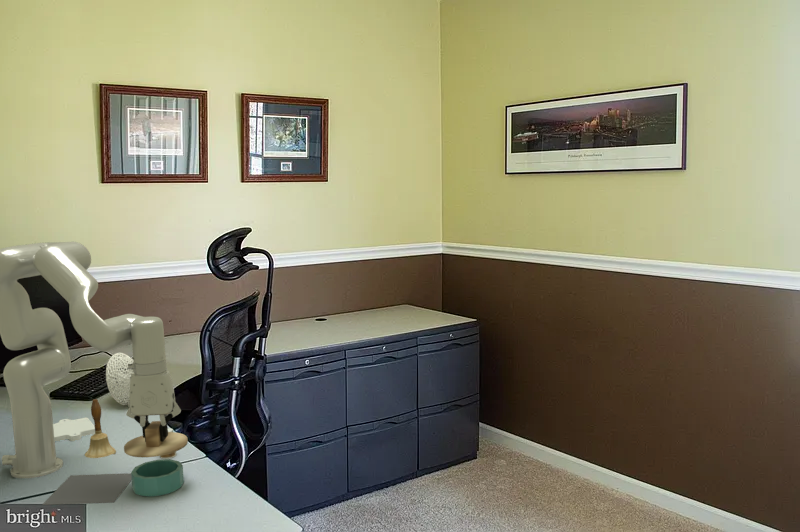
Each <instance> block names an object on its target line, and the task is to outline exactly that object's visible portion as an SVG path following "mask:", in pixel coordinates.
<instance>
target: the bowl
mask: <svg viewBox="0 0 800 532" xmlns="http://www.w3.org/2000/svg"><path fill="white" fill-rule="evenodd" d="M130 473H131V477H132V480H131V488H132V491H133V492H134V494H135V495H139V496H142V497H159V496H163V495H164V496H165V495H168V494H171V493H174V492H176V491H177V490H179V489H180V488H182V487H183V484H184V482H185V481H184V479H185V477H184V465H183V464H182V463H181V461H180V460H175V459H172V458H169V459H162V458H161V459H155V460H149V461H145V462H143V463H140V464H138V465H136V466H135V467H134V468H133V469H132V470H131V471H130Z"/></svg>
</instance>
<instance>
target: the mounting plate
mask: <svg viewBox="0 0 800 532" xmlns="http://www.w3.org/2000/svg"><path fill="white" fill-rule="evenodd" d="M53 428H54V439H55V441H59V442H61V441H60V440H64V441H66V440H65V439H69V440H68V441H70V442H76V441H75V440H77V441H80V440H82V438H83V437H86V435H87V436H91V435H90V434H92V435H94V434H95V424H94V423H93V422H92V421H91V420H90V419H89V418H88V417H81V418H77V419H70V418H63V419H60V420H58V422H56V423H53ZM82 436H83V437H82Z"/></svg>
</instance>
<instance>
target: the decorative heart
mask: <svg viewBox="0 0 800 532" xmlns="http://www.w3.org/2000/svg"><path fill="white" fill-rule="evenodd" d="M131 363H133V357H130V356H129V355H128V354H126V353H125V352H124V353H123V352H117V353H114V354H112V355H111V357H109V359H108V361H107V364H106V369H105V380H106V384H107V388H108V391H109V393H110V395H111V396H112V398H113V399H114V400H115V401H116V402H117V403H118V404H120V405H123V406H127V407H128V408H129V407H130V405H129V393H130V378H131V375H132V374H133V370H131V369H128V364H131Z"/></svg>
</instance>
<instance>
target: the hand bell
mask: <svg viewBox="0 0 800 532" xmlns="http://www.w3.org/2000/svg"><path fill="white" fill-rule="evenodd" d="M90 412H91V416H92V419H93V422H94V423H93V425H94V426H95V434H92V435H90V438H89V439H90V440H89V447H88V449H87V451H86V452H85V453H84V456H85V458H88V459H100V458H105V457H109V456H111V455H116V453H117V450H116V449H115V448H114V447H113V446H112V445H111V443H110V441H109V436H108V434H107V433H104V432H102V430H103V429H102V425H101V417H102V408H101V404H100V403H99V401H98V399H97V398H95V399H92V402H91V407H90Z"/></svg>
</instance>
